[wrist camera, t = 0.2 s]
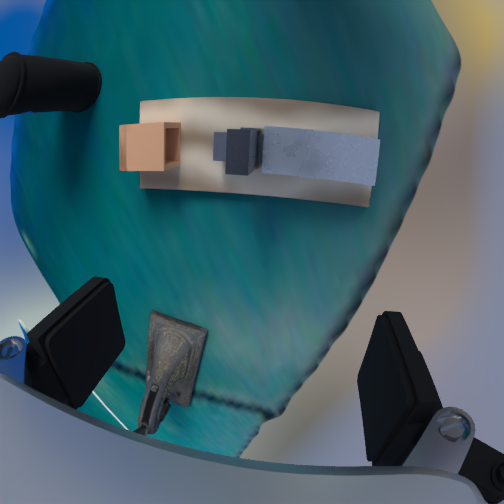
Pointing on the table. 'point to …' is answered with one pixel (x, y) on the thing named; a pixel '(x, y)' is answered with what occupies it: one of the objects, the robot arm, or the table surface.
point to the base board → (253, 116)
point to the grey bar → (239, 149)
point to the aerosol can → (46, 84)
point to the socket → (149, 146)
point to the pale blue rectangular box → (320, 155)
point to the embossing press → (169, 368)
